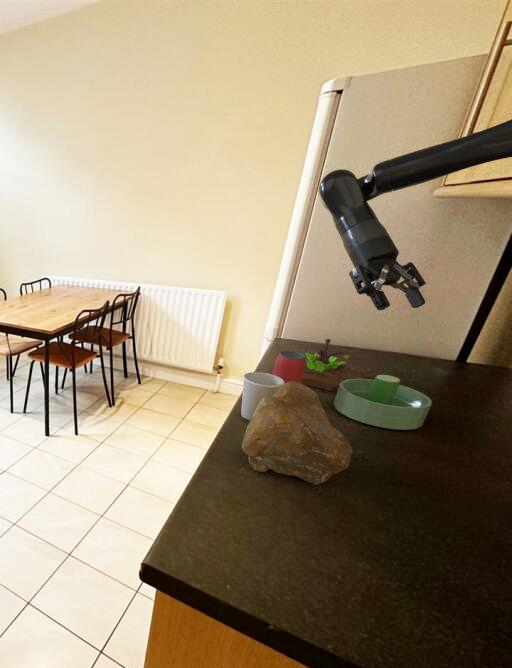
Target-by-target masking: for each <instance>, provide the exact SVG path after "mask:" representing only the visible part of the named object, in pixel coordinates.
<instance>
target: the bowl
mask: <svg viewBox="0 0 512 668" xmlns="http://www.w3.org/2000/svg"><path fill="white" fill-rule="evenodd" d="M374 380H375V379H371V378H362V379H348V380H345V381H342V382H341V383H340V385H339V388H338V391H337V392H336V395H335V397H334V399H333V400H334V401H333V407H334V409H335V410H337V411H338V413H340V414H342V415H344V416H345V417H348V418H349V419H352V420H354V421H357V422H359V423H363V424H366V425H370V426H373V427H378V428H382V429H390V430H401V431H409V430H417V429H419V428H421V427H423V425H424V422H425V420H426V417H427V415H428V413H429V411H430V409H431V407H432V403H433V401H432V399H431V398H430V397H429V396H428V395H426V394H424V393H423V392H421V391H419V390H416V389H413V388H411V387H408V386H405V385H402V384H400V385H399V387H398V390H397V392H396V395H395V397H394V400H393V402H392V405H386V404H381V403H377V402H373V401H370V400H367V399H368V396H369V393H370V391H371V388H372V385H373V383H374Z"/></svg>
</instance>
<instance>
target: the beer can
mask: <svg viewBox="0 0 512 668" xmlns="http://www.w3.org/2000/svg"><path fill="white" fill-rule="evenodd" d="M305 358H307V355H306V354H304V353H302V352H298V351H292V350H282V351H280V352H279V354H278V356H277V357H276V358H275V360H274V365H273V368H272V373H271V374H272V375H275V376H278V377H280V378H281V379H283V380H284V382H285V384H286V383H287V382H290V381H294V382H298V383H301V381H302V377H303V374H304V371H305V367H306V359H305ZM285 384H284V385H285ZM284 385H283V386H284ZM283 386H282V387H283Z"/></svg>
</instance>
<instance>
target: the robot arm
mask: <svg viewBox="0 0 512 668" xmlns="http://www.w3.org/2000/svg"><path fill="white" fill-rule="evenodd" d="M509 158H512V118H510V119H509V120H506V121H504V122H500V123H499V124H496V125H494V126H490V127H488V128H485V129H482V130H480V131H477V132H474V133H471V134H467V135H465V136H461V137H459V138H456V139H452V140H448V141H446V142H445V141H444V142H442V143H438V144H435V145H432V146H428V147H425V148H422V149H418V150H415V151H412V152H408V153H405V154H402V155H399V156H395V157H393V158H390V159H386V160H383V161H381V162H378V163H377V164H375V165H374V166H373V167H372V168H371V171H370V172H369V173H368V174H365V175H363V176H361V177H359V178H357V176H356V174H355V173H353V172H352V171H351V170H348V169H345V168H344V169H341V168H340V169H335V170H332V171H330V172H328V173H327V174H326V175H324V176H323V178H322V179H321V180H320V183H319V184H318V190H317V191H318V192H317V193H318V196H319V199H320V201H321V204H322V206H323V208H324V209H325V210H327V211H328V212H329V214H330V215H331V217H332V220H333V224H334V227H335V230H336V231H337V234H338V235H339V238H340V239H341V242H342V245H343V247H344V249H345V252H346V254H347V256H348V257H349V260H350V261H351V263H352V265H353V267H354V268H353V269H352V270H350V271H349V272H348V275H349V277H350V279H351V281H352V284H353V286H354V288H355V291H356V292H357V294H358V295H363V294H364V295H366V296H367V297H369V298H370V300H371V302H372V303H373V305H374V307H375V308H376V310H377V311H384V310H386V309H387V308H389V307H390V306H391V303H390V301H389V299H388V297H387V295H386V294H385V292H384V290H382V288H383V286H387V287H389V286H390V287H392V288H393V289H395V290H396V289H398V290H400V291H401V292H403V293H404V296H405V298H406V300H407V301H408V303H409V304H410V306H411V308H413V309H417V308H420V307H421V306H423V305H425V304H426V299H425V298H424V296H423V294H422V292H421V291H420V288H421V287H423V286H425V285H426V284H427V282H426V281H425V279H424V277H423V276H422V275H421V273H420V272H419V269H417V267H416V265H415V264H414V263H413V262H411V261H409V262H407V263H406V264H401V263H399V261H398V260H397V258H398V256H399V254H400V251H399V249H398V247H397V246H396V244H395V243H394V241H393V239H392V237H391V236H390V234H389V232H388V230H387V229H386V227H385V226H384V225H383V224H382V223H381V221H380V220H379V218H378V217H377V215H376V213H375V212H374V210H373V208H372V207H371V205H370V204H369V203H368V202H369V201H371V200H374V199H375V198H377V197H379V196H381V195H384V194H388V193H392V192H396V191H399V190H403V189H407V188H410V187H414V186H418V185H420V184H425V183H428V182H430V181H433V180H437V179H440V178H442V177H445V176H448V175H451V174H454V173H457V172H460V171H463V170H466V169H470V168H472V167H476V166H480V165H483V164H486V163H490V162H491V163H492V162H494V161H500V160H504V159H509ZM401 278H402V279H401ZM414 279H415V280H414ZM362 284H363V285H362Z"/></svg>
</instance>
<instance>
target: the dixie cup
mask: <svg viewBox="0 0 512 668" xmlns="http://www.w3.org/2000/svg"><path fill="white" fill-rule="evenodd" d="M242 378H243V383H242V397H241V399H242V400H241V409H240V410H241V411H240V415H241V417H242V418H243V419H245V420H248V421H251V419H252V416H253V414H254V412H255V410H256V408H257V406H258V404H259V403H260V401H261V400H262V398H264V397H266V396H274V395H275V394H276V393H277V392H278V391H279V390H280V389H281V388H282V386H283V385H284V384H285V382H284V380H283V379H281V378H280V377H278V376H275V375H272V373H267V372H261V371H251V372H246V373H244V374H243V376H242Z"/></svg>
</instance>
